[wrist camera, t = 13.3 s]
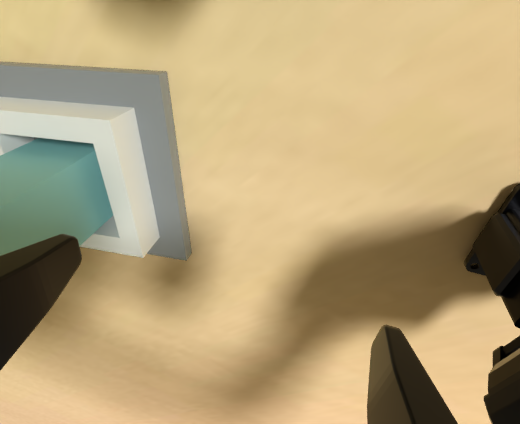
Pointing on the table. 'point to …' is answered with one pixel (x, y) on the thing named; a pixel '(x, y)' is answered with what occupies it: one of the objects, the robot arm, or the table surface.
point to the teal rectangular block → (50, 193)
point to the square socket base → (108, 145)
